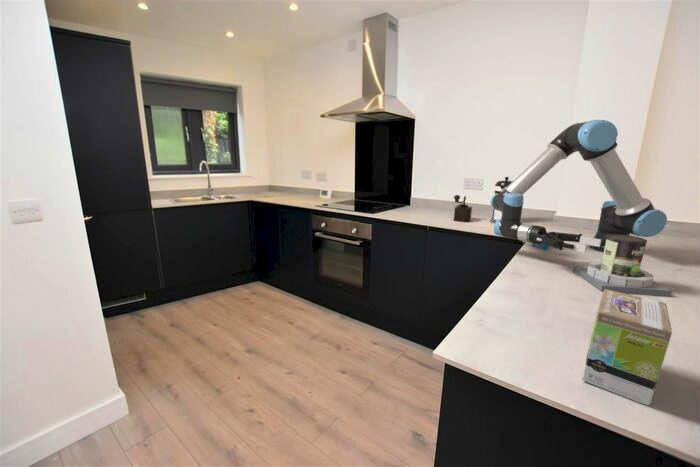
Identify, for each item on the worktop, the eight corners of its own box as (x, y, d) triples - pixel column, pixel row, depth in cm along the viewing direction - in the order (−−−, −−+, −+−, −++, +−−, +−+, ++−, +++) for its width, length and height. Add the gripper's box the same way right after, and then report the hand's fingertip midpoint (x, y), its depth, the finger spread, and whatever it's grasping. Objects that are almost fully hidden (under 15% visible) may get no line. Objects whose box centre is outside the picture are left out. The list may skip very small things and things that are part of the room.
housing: (629, 275, 116) (632, 263, 115) (670, 296, 98) (673, 283, 97) (572, 271, 120) (574, 259, 118) (601, 291, 101) (603, 278, 100)
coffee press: (519, 224, 202) (526, 177, 195) (494, 224, 203) (500, 177, 195) (507, 219, 219) (512, 175, 212) (484, 219, 219) (489, 175, 212)
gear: (542, 247, 145) (531, 229, 149) (532, 254, 149) (521, 236, 154) (555, 247, 150) (544, 230, 155) (544, 254, 154) (534, 236, 159)
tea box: (652, 409, 54) (674, 331, 50) (580, 381, 60) (595, 311, 57) (649, 367, 65) (667, 300, 61) (589, 347, 71) (602, 286, 68)
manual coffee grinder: (454, 218, 222) (457, 192, 218) (471, 219, 217) (474, 193, 213) (451, 222, 209) (453, 195, 204) (468, 224, 204) (471, 196, 199)
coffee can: (644, 280, 106) (654, 239, 102) (626, 285, 102) (636, 243, 98) (609, 270, 115) (617, 232, 111) (591, 274, 111) (599, 235, 107)
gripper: (545, 238, 138) (604, 250, 121) (515, 247, 124) (576, 262, 107) (548, 222, 136) (608, 231, 119) (517, 228, 122) (580, 240, 105)
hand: (593, 246), depth 113 cm, fingers open, 13 cm apart
